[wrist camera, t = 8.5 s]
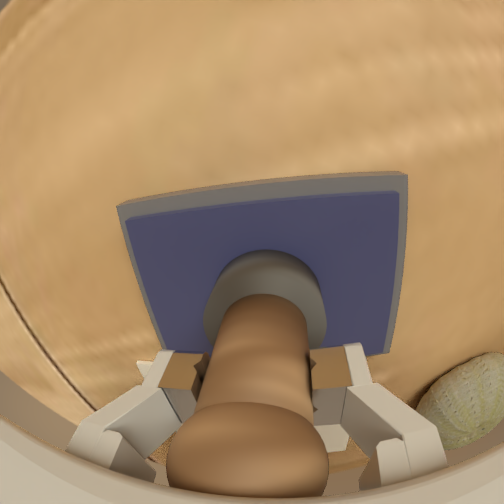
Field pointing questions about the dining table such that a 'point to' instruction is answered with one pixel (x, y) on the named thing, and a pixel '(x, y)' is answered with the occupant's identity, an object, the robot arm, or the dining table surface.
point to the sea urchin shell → (466, 401)
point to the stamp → (256, 386)
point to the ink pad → (274, 238)
